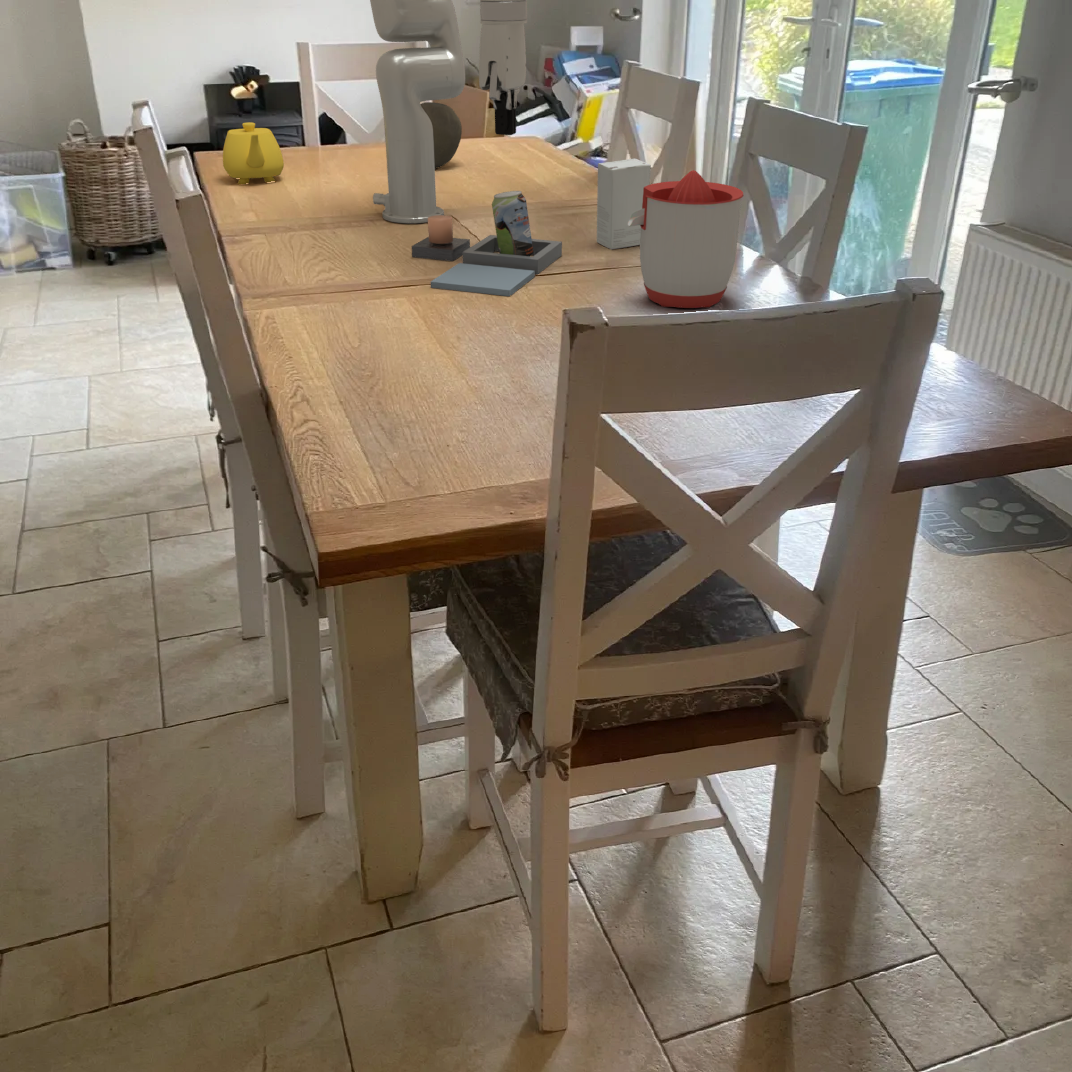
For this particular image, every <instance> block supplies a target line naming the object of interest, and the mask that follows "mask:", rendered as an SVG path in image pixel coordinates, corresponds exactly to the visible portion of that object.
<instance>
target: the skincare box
mask: <svg viewBox="0 0 1072 1072" xmlns="http://www.w3.org/2000/svg"><path fill="white" fill-rule="evenodd" d="M651 166H652V165H651V164H650V163H648V162H645V161H642V160H640V159H637V158H635V157H634V158H628V159H622V160H615V161H607V162H600V163H597V198H596V200H597V201H596V202H597V204H596V206H597V207H596V243H598V244H599V245H602V246H603V247H606V248H608V249H609V250H615V249H616V250H617V249H622V248H623V249H624V248H627V247H633V246H634V247H635V246H640V235H641V226H640V225H637V226H630V227H629V226H628V222H629V220H630V217H631V215H632V213H634V212H635V211H638V210H641V209H642V203H643V189H644V187H645V186H647V185H650V184H651V183H650V182H651V168H652V167H651Z"/></svg>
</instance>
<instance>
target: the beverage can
mask: <svg viewBox="0 0 1072 1072" xmlns="http://www.w3.org/2000/svg"><path fill="white" fill-rule="evenodd" d="M527 204H528V203H527V198H526V197H525V195H524V194H523V193H522V191H521V190H511V191H503V192H498V193H496V194H494V195H493V200H492V203H491V206H492V212H493V213H492V214H493V223H494V226H495V233H496V235H497V241H498V247H499V254H509V255H519V256H530V257H532V256H533V255H532V254H533V246H532V239H533V238H532V232H531V231H532V230H531V226H530V219H529V212H528V211H529V210H528V205H527Z"/></svg>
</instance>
